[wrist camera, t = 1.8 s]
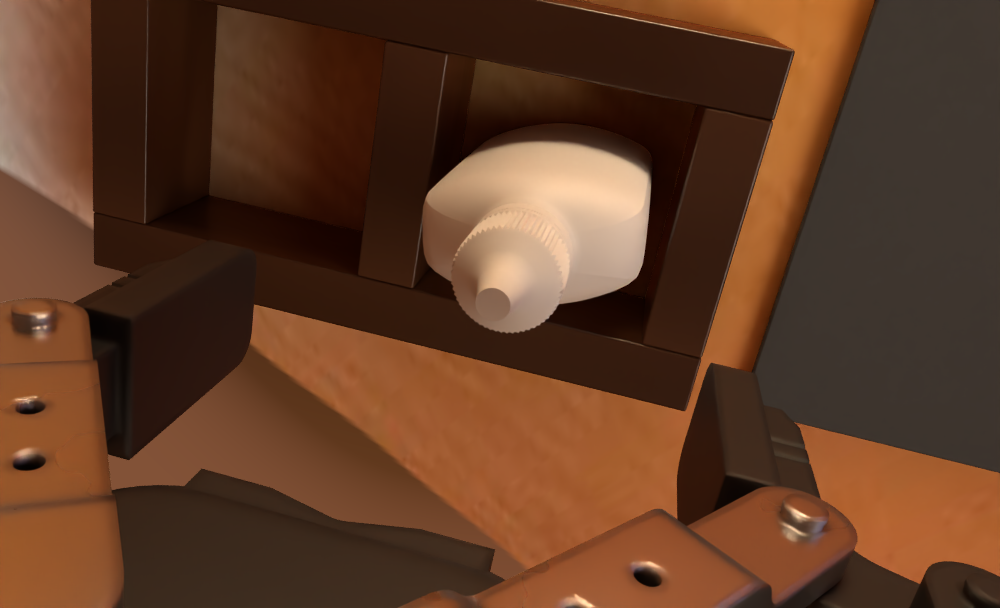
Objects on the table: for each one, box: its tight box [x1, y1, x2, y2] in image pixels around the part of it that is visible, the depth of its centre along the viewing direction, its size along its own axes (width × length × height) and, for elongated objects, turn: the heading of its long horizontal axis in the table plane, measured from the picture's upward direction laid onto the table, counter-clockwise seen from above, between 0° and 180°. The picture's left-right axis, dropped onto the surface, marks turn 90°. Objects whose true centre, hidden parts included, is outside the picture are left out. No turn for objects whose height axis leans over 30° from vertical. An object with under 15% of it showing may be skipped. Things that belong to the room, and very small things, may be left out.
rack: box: [91, 0, 794, 411], centre depth 26 cm, size 11×19×4 cm, turn 79°
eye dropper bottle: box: [422, 123, 653, 333], centre depth 22 cm, size 4×6×12 cm
